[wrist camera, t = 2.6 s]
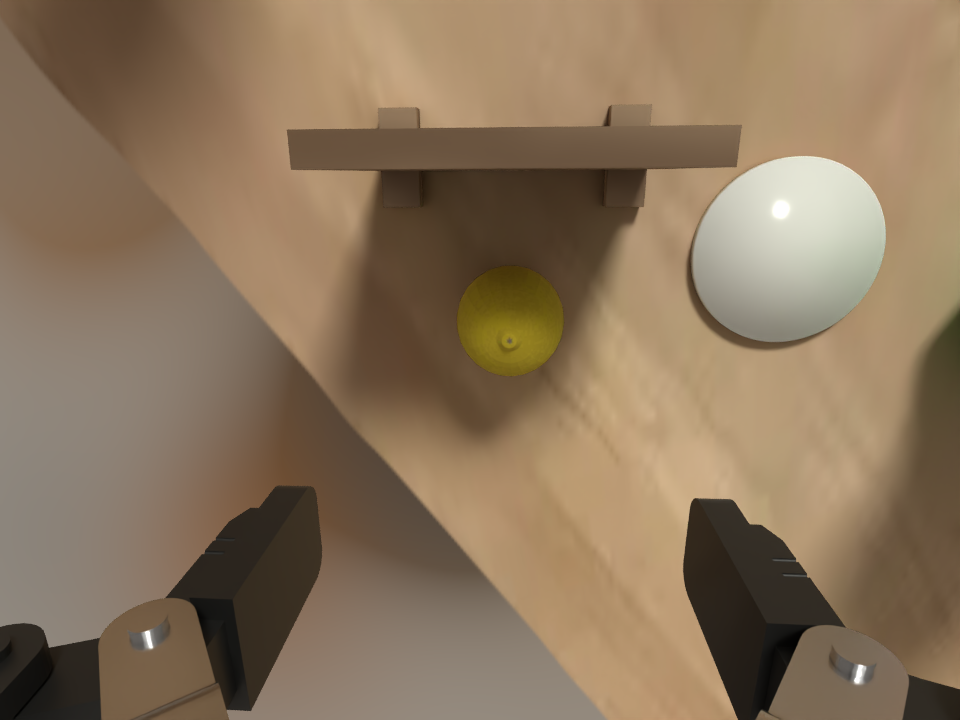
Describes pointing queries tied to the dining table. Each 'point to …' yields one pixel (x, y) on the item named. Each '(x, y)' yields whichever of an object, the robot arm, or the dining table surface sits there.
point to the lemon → (510, 320)
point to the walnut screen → (516, 151)
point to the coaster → (788, 248)
